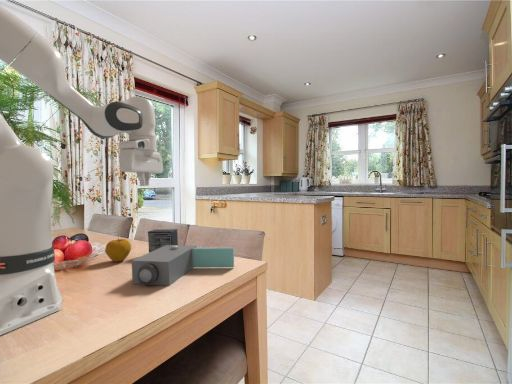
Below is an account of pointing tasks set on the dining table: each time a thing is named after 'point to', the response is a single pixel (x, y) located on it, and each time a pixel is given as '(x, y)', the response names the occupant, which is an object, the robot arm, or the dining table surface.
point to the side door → (212, 257)
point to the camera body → (162, 265)
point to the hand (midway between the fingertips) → (144, 186)
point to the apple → (118, 249)
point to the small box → (162, 238)
